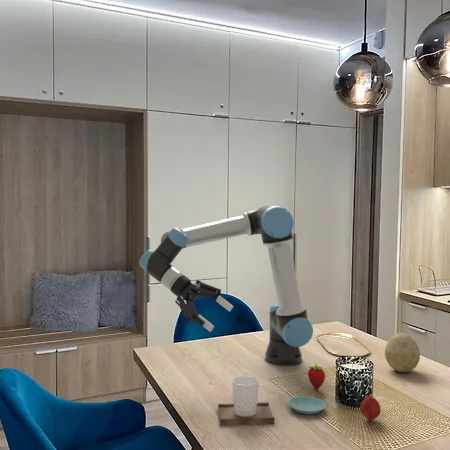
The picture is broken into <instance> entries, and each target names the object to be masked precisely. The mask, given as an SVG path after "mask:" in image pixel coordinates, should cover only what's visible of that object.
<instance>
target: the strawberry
mask: <svg viewBox="0 0 450 450" xmlns="http://www.w3.org/2000/svg"><path fill="white" fill-rule="evenodd" d="M307 368H309V369H308V371H307V378H308V381H309V382H310V383H311V384H310V385H312V387H313V388H314V390H316V391H318V390H320V388H321V387H322V386H323V384H324V382H325V380H326V373H325V371H324V369H323V366H318V365H317V363H315V365H314V366H308V367H307Z"/></svg>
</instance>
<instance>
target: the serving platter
mask: <svg viewBox="0 0 450 450" xmlns="http://www.w3.org/2000/svg"><path fill="white" fill-rule="evenodd" d="M331 334H334V335H342V336H347V337H350V338H352V339H354V340H355V341H356V342H358V343H360V345H361V346H363V347H364V348H366V349H367V350H368V351H369V353H367V354H368V355H369V354H370V353H371V350H370V348H369V347H367V346H366V345H365V344H364V343H363V342H361V340H359V338H357V337H355V336H354V335H350V334H345V333H339V332H326V333H321V334H318V335H317V336H316V338H315V339H316V340H317V342H319V344H321V346H322V347H323V348H324V349H325V350H326V351H327V352H328V353H329V354H330V355H333V354H334V355H333V356H336V355H339V356H338V357H340V356H349V354H348V355H347V354H339V353H334V352H333V351H330V350H329V349H328V348H327V347H326V346H325V345H324V344H323V342H321V340H320V341H319V340H318V337H320V336H323V335H331ZM326 348H327V349H328V350H329V351H328V350H327V349H326ZM367 354H366V353H365V354H360V355H357V356H364V355H367ZM368 355H367V356H368ZM364 357H365V356H364Z"/></svg>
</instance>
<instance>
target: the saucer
mask: <svg viewBox="0 0 450 450" xmlns="http://www.w3.org/2000/svg"><path fill="white" fill-rule="evenodd" d="M287 403H288V406H289V407H290V408H291V409H292V410H294V411H296V412H297V413H299V414H302V415H316V414H317V413H320V412H322V411H323V410H324V409H325V408H326V407H327V403H326V402H325V401H324V400H323V399H320V398H318V397H316V396H308V395H299V396H294V397H292V398H290V399H289V400H288V401H287Z"/></svg>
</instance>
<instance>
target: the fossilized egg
mask: <svg viewBox="0 0 450 450" xmlns="http://www.w3.org/2000/svg"><path fill="white" fill-rule="evenodd" d="M384 356H385V360H386V363H388V365H389V367H391V369H392V370H394V371H397V372H399V373H408V372H411V371H413V370H414V369H416V367H417V366H418V364H419V363H420V361H421V360H420V359H421V353H420V349H419V345H418V344H417V342H416V341H415V339H414V338H413V337H412V336H410V335H409V334H408V333H406V332H398V333H395V334H394V335H392V336H391V337H390V339H389V340H388V341H387V343H386V345H385V348H384Z"/></svg>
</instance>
